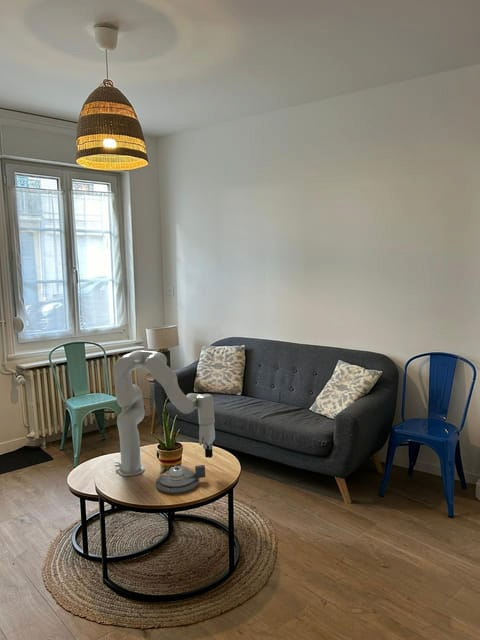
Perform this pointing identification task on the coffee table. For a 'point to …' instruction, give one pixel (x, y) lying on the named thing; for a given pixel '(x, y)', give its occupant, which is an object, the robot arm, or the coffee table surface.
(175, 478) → the cover
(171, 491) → the turntable base
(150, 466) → the coffee table surface
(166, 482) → the round gray housing
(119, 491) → the coffee table surface
